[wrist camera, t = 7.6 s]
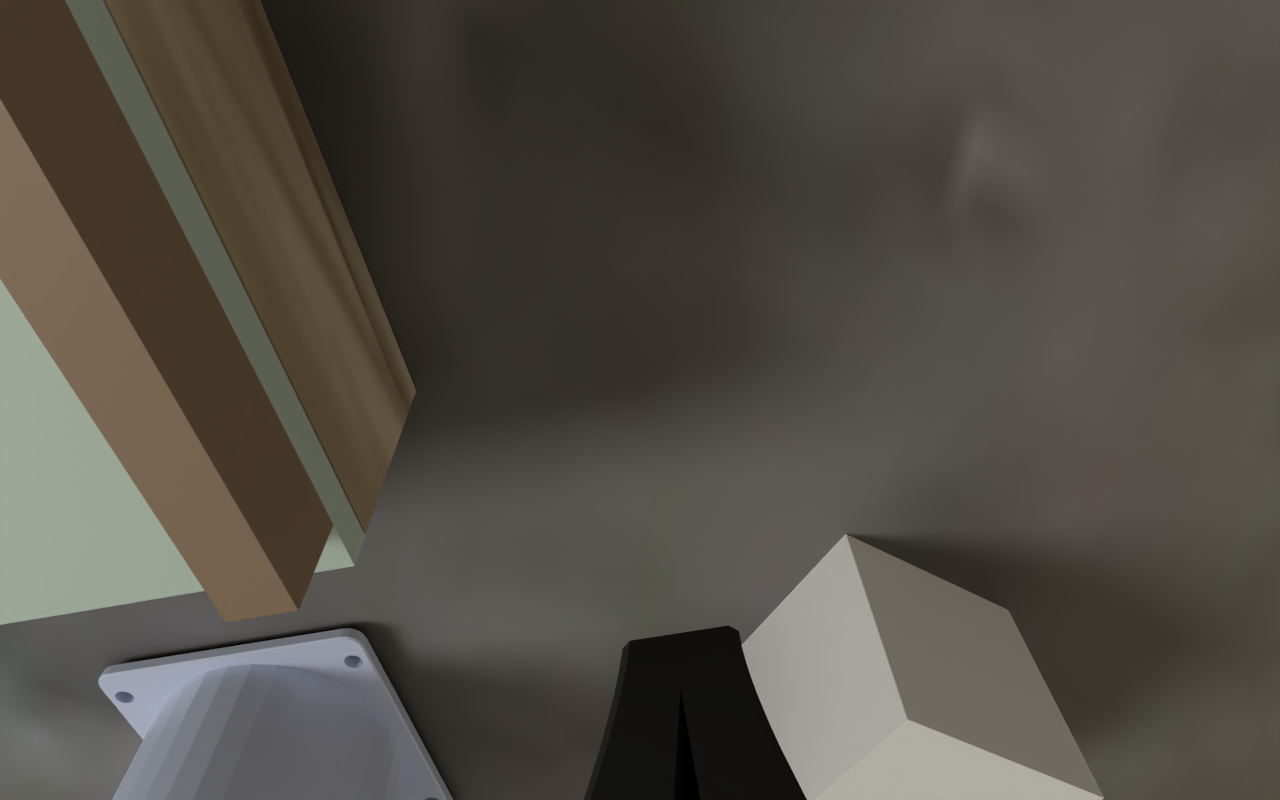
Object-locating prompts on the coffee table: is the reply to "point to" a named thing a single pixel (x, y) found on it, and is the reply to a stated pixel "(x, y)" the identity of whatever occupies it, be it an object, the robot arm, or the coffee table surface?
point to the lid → (134, 359)
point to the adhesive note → (908, 690)
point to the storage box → (277, 222)
